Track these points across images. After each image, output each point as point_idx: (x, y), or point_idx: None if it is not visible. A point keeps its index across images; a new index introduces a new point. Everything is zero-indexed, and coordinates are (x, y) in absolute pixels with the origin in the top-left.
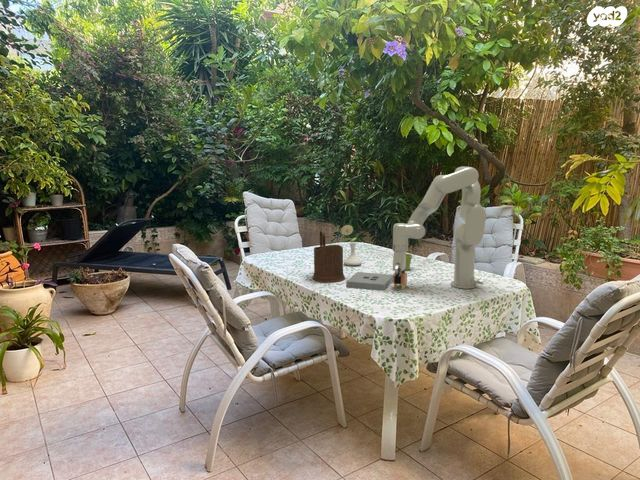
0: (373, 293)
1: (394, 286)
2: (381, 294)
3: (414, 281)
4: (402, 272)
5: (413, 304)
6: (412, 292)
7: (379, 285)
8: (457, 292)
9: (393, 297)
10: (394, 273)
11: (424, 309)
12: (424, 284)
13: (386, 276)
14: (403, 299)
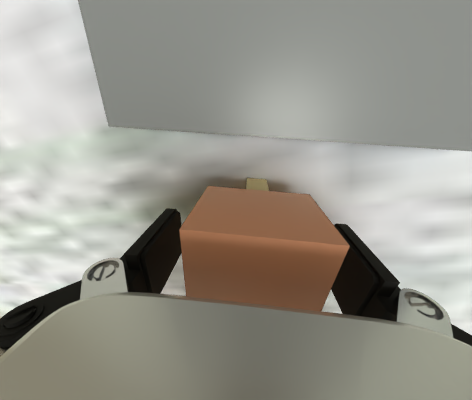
0: (27, 44)
1: (246, 183)
2: (50, 119)
3: (394, 276)
4: (351, 304)
5: (29, 277)
6: (178, 271)
7: (103, 67)
8: None
9: (50, 200)
10: (261, 241)
11: (12, 303)
12: (328, 311)
13: (464, 78)
14: (57, 244)
